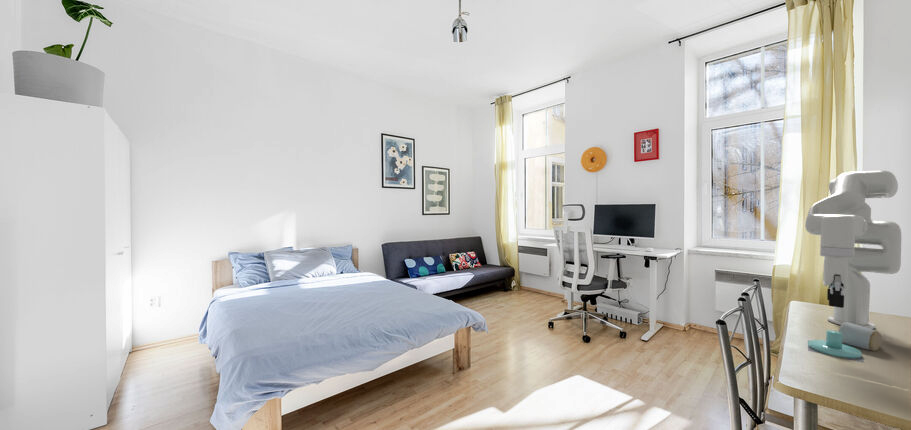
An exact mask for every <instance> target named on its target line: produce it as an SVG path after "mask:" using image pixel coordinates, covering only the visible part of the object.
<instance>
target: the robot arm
mask: <svg viewBox="0 0 911 430" xmlns="http://www.w3.org/2000/svg"><path fill="white" fill-rule="evenodd" d="M898 183H899V182H898V180H897V176H895V175H894V174H893V172H891V171H888V170H881V169H880V170H862V171H861V170H860V171H848V172H843V173H841V174H839V175H837V176H836V177H835V179H832V180H831V181H830V182H829V184H828V191H829V193H830V195H829V196H827V197H824V198H823V199H821V200H819V201H817V202H815V203H814V204H812V205H811V207H810V208H809V210H808V213H807V214H806V215H807V216H806V219H805V224H804V226H805V230H806V232H807V233H808V234H810V235H813V236H820V246H819V247H820V249H819V250H820V251H819V252H820V253H819V255H820V257H824V259H823V272H822V273H823V275H822V277H823V278H822V283H823V286H825V287H826V288H827V291H826V292H827V293H826V294H827V295H826V298H827V299H826V300H827V301H828V305H829V307H833V312H832V313H833V315H829V316H828V317H827V320H828V321H829V322H830V323H833V324H835V325H838V326H841V325H842V324H843V323H845V322H849V323H852V324H855V325H859V326H862V327H866V328H869V329H873V330H875V327H876V325H875V324H874V323H873V322H870V302H871V301H870V297H871V283H870V281H869V280H868V278H867V277H866V276H865V275H864V274H862V273H863V272H864V273H874V274H875V273H876V274H884V275H885V274H887V275H894V274H897V273H898V272H899V271H900V269H901V264H902V263H901V261H902V230H901V227H900V225H899V224H898V223H896V222H894V221H888V220H872V217H871V216H872V208H871V206H870V205H869V203H866V199H887V198H888V199H890V198H893V197H894V196H895V195H896V194H897V192H898V190H899V189H898V188H899V184H898ZM856 244H857V245H870V246H871V245H873V246H880V247H881V248H873V247H871V248H870V247H861V246H858V247H857V246H855V245H856Z"/></svg>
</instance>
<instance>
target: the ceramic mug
mask: <svg viewBox="0 0 911 430" xmlns="http://www.w3.org/2000/svg"><path fill="white" fill-rule="evenodd" d="M838 332H841V333H842V334H843V335H842V344H844V345H848V346H851V347H854V348H859V349H863V350H866V351H872V352H875V351H878V350H879V349H880V347H881V345H882V341H883V338H882V334H881V333H880V332H879V331H878V330H876V329H869V328H866V327H862V326H859V325H855V324H852V323H849V322H845V323H843V324H842V325H840V327H839V329H838Z"/></svg>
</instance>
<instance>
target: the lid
mask: <svg viewBox="0 0 911 430" xmlns="http://www.w3.org/2000/svg"><path fill="white" fill-rule="evenodd" d="M825 334H826V335H825V336H826V339H825V340H823V339H810V340H809V341H808V340H807V347H808V346H809V347H810V348H811V349H813V350H816V351H818V352H821V353H824V354H823V355H826V354H828V356H831V355H832V356H831V357H836V356H837V357H836V358H840V357H842V358H841V359H845V358H851V359H857V358H861V357H862V358H863V356H862V355H863V352H862V350H860V349H858V348H857V347H854V346H851V345H848V344H844V343H842V335H843V334H842V333H841V332H839V331H837V330H831V329H827V330H826V333H825ZM821 353H820V354H821Z"/></svg>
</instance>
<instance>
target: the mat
mask: <svg viewBox="0 0 911 430" xmlns="http://www.w3.org/2000/svg"><path fill="white" fill-rule="evenodd" d="M808 341H809V340H807V342H808ZM807 350H808V351H809V352H813V353H817V354H822V355H828V354H824V353H821V352H818V351H816V350H813V349H811V348H810V347H809V346H808V345H807ZM828 356H829V355H828ZM830 356H831V357H833V356H832V355H830ZM835 357H836V358H838V357H837V356H835ZM839 358H841V359H843V358H842V357H839ZM844 359H846V360H849V361H850V360H851V361H855V362H860V363H865V362H864V358H863V356H862V357H861V358H857V359H851V358H844Z"/></svg>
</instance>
